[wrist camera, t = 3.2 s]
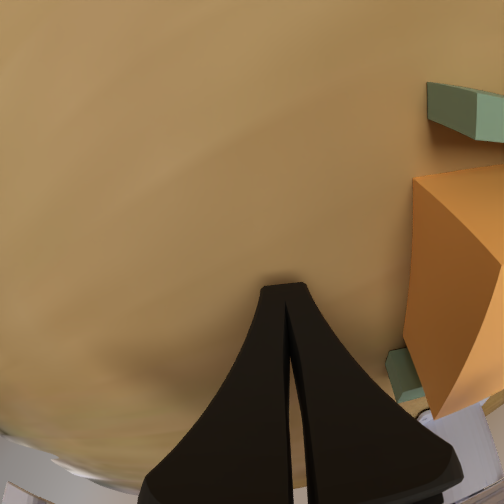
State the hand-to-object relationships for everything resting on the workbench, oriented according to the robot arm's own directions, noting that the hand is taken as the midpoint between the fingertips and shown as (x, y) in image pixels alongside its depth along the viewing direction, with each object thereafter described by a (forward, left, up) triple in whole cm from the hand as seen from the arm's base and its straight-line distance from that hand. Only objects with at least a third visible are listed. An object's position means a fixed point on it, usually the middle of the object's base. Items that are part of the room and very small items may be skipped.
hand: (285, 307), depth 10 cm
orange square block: (0, -9, -2) cm, 9 cm away
